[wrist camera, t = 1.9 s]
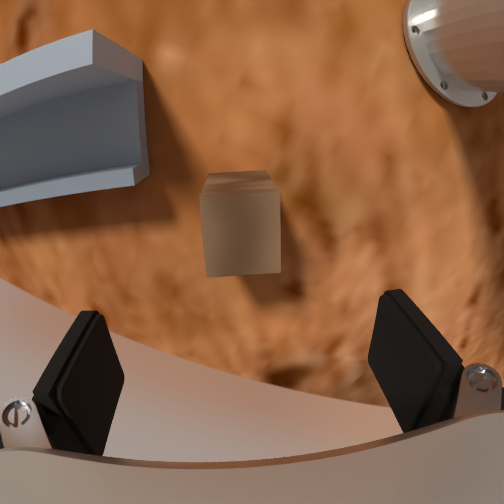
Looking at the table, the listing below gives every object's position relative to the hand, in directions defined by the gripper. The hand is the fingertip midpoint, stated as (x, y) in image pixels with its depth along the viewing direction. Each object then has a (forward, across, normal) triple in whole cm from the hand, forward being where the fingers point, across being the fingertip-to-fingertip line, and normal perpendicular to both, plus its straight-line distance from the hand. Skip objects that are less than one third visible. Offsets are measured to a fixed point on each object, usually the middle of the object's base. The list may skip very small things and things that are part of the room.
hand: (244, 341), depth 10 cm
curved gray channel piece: (+17, +17, -8) cm, 25 cm away
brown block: (+17, 0, 0) cm, 17 cm away
